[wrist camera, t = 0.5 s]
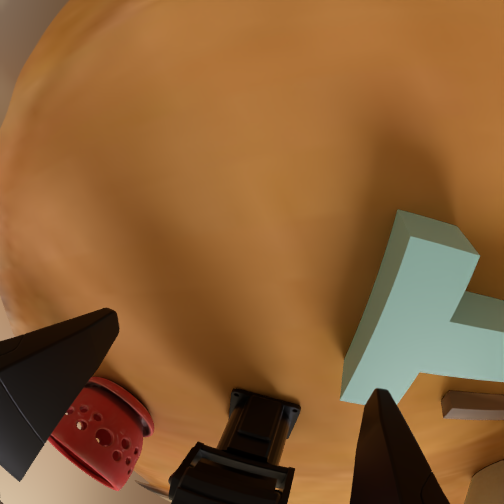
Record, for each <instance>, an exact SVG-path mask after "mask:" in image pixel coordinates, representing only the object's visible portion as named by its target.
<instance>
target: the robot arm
mask: <svg viewBox="0 0 504 504" xmlns="http://www.w3.org/2000/svg"><path fill="white" fill-rule="evenodd" d="M118 333H119V323H118V317H117V313H116V311H114V310H112V309H109V308H103V309H100V310H97V311H94V312H91V313H88V314H85V315H82V316H79V317H76V318H72V319H69V320H66V321H63V322H60V323H57V324H54V325H51V326H48V327H45V328H42V329H39V330H36V331H32V332H29V333H26V334H25V335H20V336H17V337H14V338H11V339H7V340H4V341H0V465H1V466H2V467H3V468H4V469H5V470H6V471H8V472H9V473H10V474H11V475H12V476H13V477H14V478H16V479H17V480H18V481H19V482H20V481H21V480H22V478H23V477H24V475H25V474H26V472H27V470H28V469H29V467H30V466H31V464H32V463H33V461H34V460H35V458H36V456H37V455H38V453H39V452H40V450H41V449H42V447H43V446H44V443H46V441H47V440H48V438H49V437H50V435H51V434H52V432H53V431H54V429H55V428H56V426H57V425H58V423H59V422H60V420H61V419H62V418H63V416H64V415H65V413H66V412H67V410H68V409H69V408H70V406H71V405H72V403H73V402H74V400H75V399H76V398H77V396H78V395H79V393H80V392H81V391H82V389H83V388H84V386H85V385H86V384H87V382H88V381H89V380H90V378H91V377H92V375H93V374H94V373H95V371H96V370H97V369H98V367H99V366H100V364H101V363H102V361H103V359H104V358H105V356H106V354H107V352H108V351H109V349H110V347H111V346H112V344H113V342H114V341H115V339H116V337H117V336H118ZM300 411H301V407H300V406H299V405H296V404H292V403H288V402H284V401H280V400H276V399H272V398H269V397H265V396H261V395H258V394H254V393H251V392H247V391H244V390H241V389H237V388H236V389H233V391H232V393H231V401H230V411H229V421H228V423H227V425H226V428H225V430H224V432H223V435H222V437H221V439H220V441H219V443H218V446H217V448H213V447H210V446H207V445H204V443H201V442H197V444H196V445H195V446H194V447H192V449H191V450H190V452H189V453H188V455H187V456H186V458H185V459H184V460H183V462H182V463H181V465H180V466H179V468H178V469H177V470H176V471H175V472H174V473H173V474H172V475H171V476H170V478H169V480H168V482H169V484H170V490H169V499H170V500H172V502H171V504H287V502H288V498H289V494H290V489H291V485H292V480H293V476H294V471H295V468H291V467H289V468H287V467H282V466H278V465H279V462H280V459H281V455H282V452H283V448H284V445H285V441H286V439H288V438H289V436H290V434H291V431H292V429H293V427H294V425H295V423H296V420H297V418H298V416H299V414H300ZM431 471H432V470H431V468H430V466H429V464H428V462H427V460H426V458H425V456H424V454H423V453H422V451H421V449H420V447H419V445H418V443H417V441H416V439H415V437H414V436H413V434H412V432H411V430H410V428H409V426H408V424H407V423H406V421H405V419H404V417H403V415H402V414H401V412H400V410H399V408H398V406H397V405H396V403H395V401H394V399H393V397H392V396H391V394H390V392H389V391H388V390H387V389H382V388H376V389H375V390H374V391H373V393H372V394H371V396H370V397H369V399H368V401H367V402H366V404H365V407H364V412H363V417H362V423H361V428H360V433H359V438H358V443H357V448H356V456H355V466H354V475H353V483H352V491H351V498H350V504H450V503H449V501H448V499H447V498H446V496H445V494H444V493H443V491H442V489H441V487H440V485H439V483H438V482H437V480H436V478H435V476H434V474H433V472H431ZM275 488H279V490H275ZM0 504H3V503H2V502H1V501H0Z"/></svg>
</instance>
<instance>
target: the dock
mask: <svg viewBox="0 0 504 504" xmlns="http://www.w3.org/2000/svg"><path fill="white" fill-rule="evenodd" d="M441 405H442V412H443V418H446V419H465V420H504V395H498V394H483V393H470V392H459V391H448V393H447V394H446V395H445V396H444V398H443V399H442V400H441Z"/></svg>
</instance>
